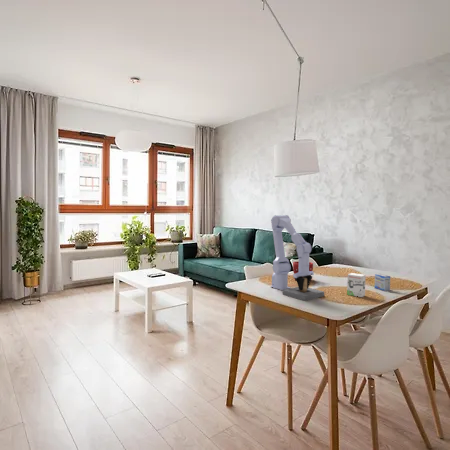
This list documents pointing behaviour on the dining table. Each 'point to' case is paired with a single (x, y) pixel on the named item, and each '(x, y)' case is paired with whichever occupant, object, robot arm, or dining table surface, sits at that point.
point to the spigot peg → (304, 286)
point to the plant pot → (296, 267)
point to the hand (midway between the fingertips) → (303, 289)
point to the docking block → (303, 296)
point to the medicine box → (382, 282)
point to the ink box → (356, 284)
